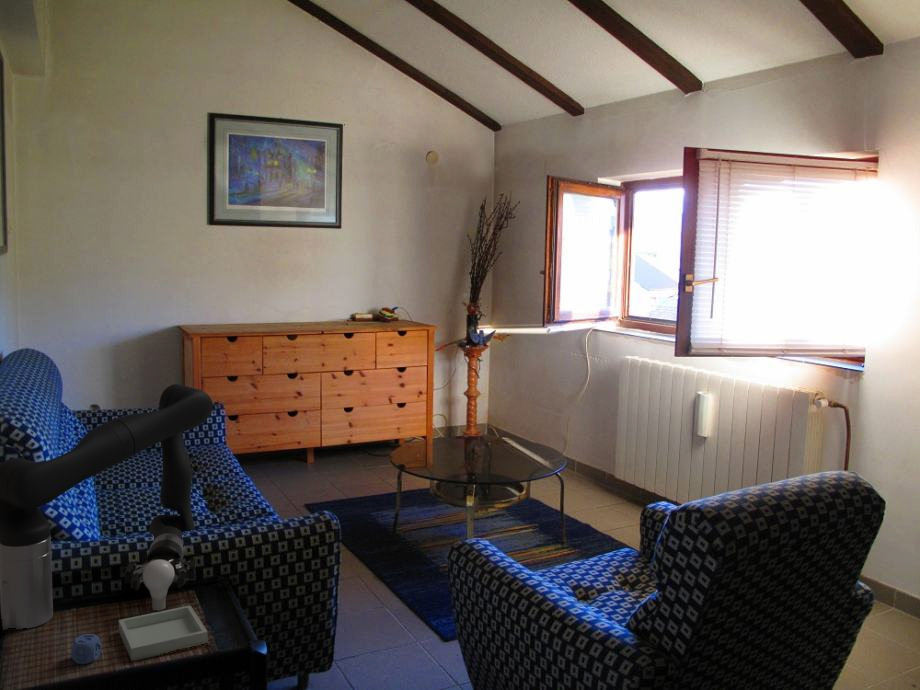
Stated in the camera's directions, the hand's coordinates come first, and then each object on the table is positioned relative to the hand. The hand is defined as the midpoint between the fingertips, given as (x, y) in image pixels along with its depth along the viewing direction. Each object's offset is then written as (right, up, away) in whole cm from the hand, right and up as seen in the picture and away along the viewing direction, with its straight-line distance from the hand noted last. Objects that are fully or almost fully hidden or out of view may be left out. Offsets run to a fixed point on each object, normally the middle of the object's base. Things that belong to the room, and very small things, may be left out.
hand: (157, 584), depth 171 cm
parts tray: (+4, -8, -9) cm, 13 cm away
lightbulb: (-1, -6, +3) cm, 7 cm away
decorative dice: (-7, -9, -17) cm, 21 cm away
